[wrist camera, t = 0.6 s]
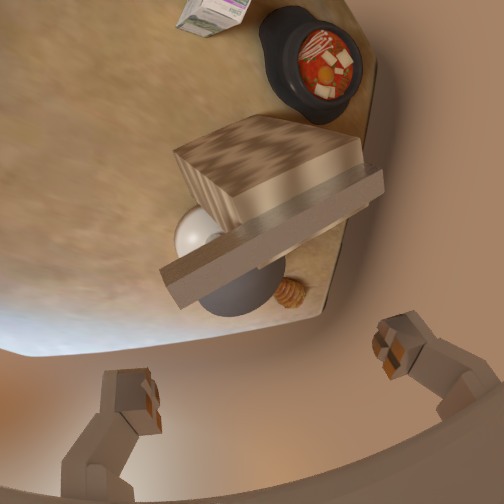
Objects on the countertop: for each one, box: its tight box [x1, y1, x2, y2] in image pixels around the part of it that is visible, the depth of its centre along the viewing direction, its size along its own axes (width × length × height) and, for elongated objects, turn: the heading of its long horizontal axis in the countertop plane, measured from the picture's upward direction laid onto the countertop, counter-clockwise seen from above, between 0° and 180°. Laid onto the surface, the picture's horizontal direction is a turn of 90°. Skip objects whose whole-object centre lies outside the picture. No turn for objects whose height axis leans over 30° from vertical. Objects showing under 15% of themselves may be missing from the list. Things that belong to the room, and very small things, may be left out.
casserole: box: [259, 6, 363, 125], centre depth 48 cm, size 25×19×8 cm
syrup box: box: [176, 0, 251, 38], centre depth 34 cm, size 6×6×14 cm
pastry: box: [273, 278, 306, 308], centre depth 74 cm, size 9×7×4 cm
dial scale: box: [174, 204, 285, 317], centre depth 54 cm, size 15×15×15 cm
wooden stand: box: [173, 115, 369, 270], centre depth 43 cm, size 16×9×26 cm, turn 108°
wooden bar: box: [159, 162, 384, 310], centre depth 31 cm, size 25×3×3 cm, turn 108°
